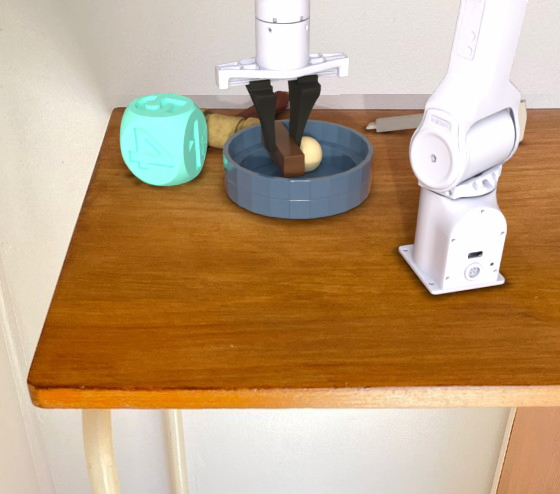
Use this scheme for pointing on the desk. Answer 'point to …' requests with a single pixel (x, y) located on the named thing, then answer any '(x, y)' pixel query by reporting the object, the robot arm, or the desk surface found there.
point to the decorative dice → (163, 139)
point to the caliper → (416, 119)
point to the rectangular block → (286, 153)
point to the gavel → (236, 121)
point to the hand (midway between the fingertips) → (282, 147)
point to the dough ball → (311, 153)
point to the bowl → (303, 189)
